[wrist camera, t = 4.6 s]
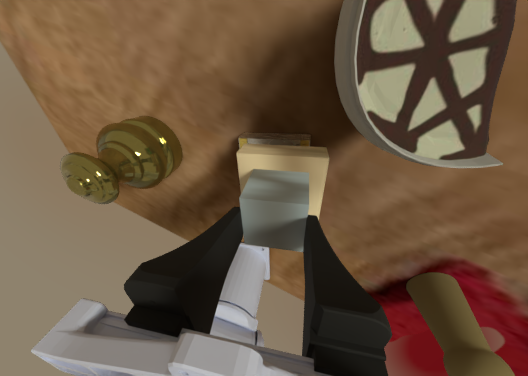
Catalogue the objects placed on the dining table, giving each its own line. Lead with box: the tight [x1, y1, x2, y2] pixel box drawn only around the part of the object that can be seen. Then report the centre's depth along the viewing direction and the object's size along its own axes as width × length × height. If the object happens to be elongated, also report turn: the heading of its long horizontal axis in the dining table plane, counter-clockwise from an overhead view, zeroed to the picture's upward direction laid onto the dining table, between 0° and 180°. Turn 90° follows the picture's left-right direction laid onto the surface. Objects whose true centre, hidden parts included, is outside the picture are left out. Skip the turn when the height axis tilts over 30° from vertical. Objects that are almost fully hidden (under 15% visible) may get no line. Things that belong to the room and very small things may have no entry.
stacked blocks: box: [237, 144, 329, 252], centre depth 16 cm, size 7×7×6 cm
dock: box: [238, 132, 311, 149], centre depth 21 cm, size 7×6×2 cm
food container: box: [334, 0, 517, 168], centre depth 12 cm, size 12×6×10 cm, turn 21°
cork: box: [406, 273, 515, 376], centre depth 23 cm, size 6×6×11 cm
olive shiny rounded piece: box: [60, 116, 182, 204], centre depth 20 cm, size 7×7×10 cm
